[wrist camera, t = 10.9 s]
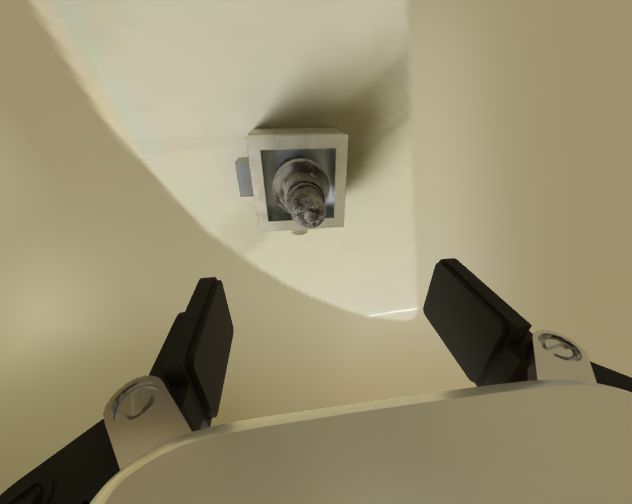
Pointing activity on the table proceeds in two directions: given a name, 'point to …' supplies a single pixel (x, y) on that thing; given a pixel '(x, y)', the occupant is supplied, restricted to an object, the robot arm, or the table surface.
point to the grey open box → (272, 150)
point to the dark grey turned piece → (302, 190)
